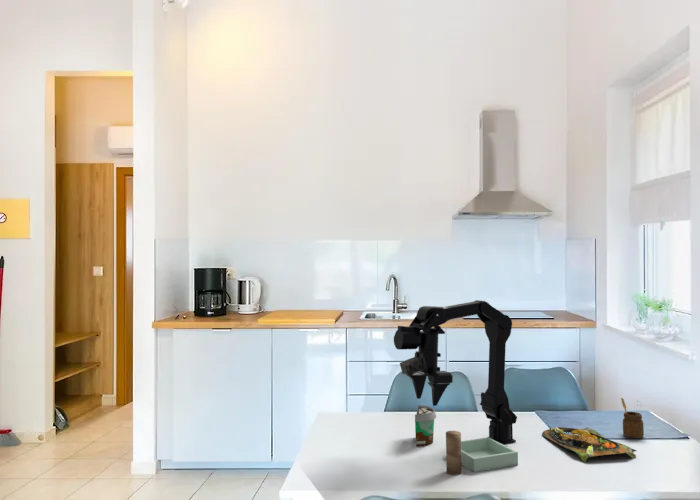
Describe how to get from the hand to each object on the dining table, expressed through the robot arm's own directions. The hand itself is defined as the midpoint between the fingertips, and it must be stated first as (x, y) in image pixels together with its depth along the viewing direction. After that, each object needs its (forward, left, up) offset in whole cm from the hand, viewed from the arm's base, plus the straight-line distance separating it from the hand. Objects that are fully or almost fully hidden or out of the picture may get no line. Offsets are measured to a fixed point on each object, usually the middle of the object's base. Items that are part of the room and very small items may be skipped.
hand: (426, 402), depth 163 cm
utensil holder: (-68, +11, -15) cm, 70 cm away
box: (-12, +11, -15) cm, 22 cm away
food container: (-5, -9, -15) cm, 19 cm away
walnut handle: (0, +16, -15) cm, 22 cm away
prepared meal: (-48, +12, -16) cm, 52 cm away
